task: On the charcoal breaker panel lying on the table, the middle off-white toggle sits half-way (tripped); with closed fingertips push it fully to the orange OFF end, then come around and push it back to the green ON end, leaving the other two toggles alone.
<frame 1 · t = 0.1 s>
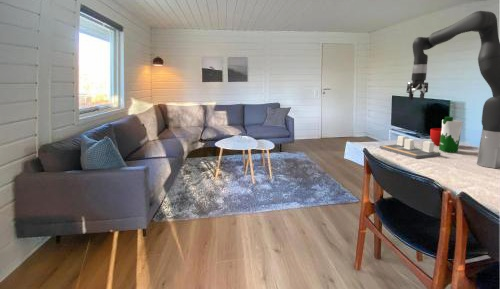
hand: (416, 100, 177), 29 cm above the table, tool pointing down, fingers open, 8 cm apart
breaker 2: (428, 146, 162), point 5 cm above the table, slide at 0.0 cm
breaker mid: (409, 144, 169), point 5 cm above the table, slide at 4.0 cm
panel: (408, 151, 170), on the table
ceramic cup: (443, 145, 186), on the table
breaker 1: (401, 140, 179), point 5 cm above the table, slide at 0.0 cm
milk carton: (448, 151, 171), on the table
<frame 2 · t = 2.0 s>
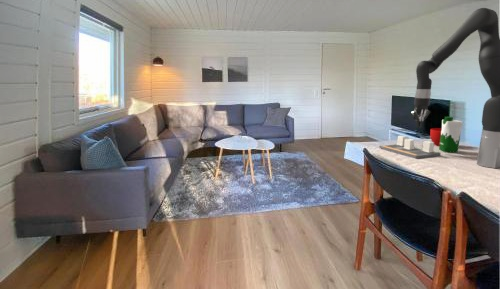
hand: (418, 127, 169), 14 cm above the table, tool pointing down, fingers closed
nothing on the table moved.
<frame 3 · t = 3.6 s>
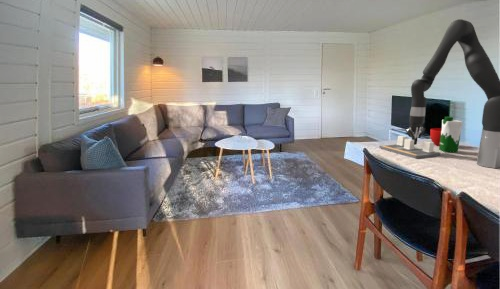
hand: (413, 144, 171), 4 cm above the table, tool pointing down, fingers closed
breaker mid: (409, 144, 169), point 5 cm above the table, slide at 4.1 cm, touching gripper
everything else where it was.
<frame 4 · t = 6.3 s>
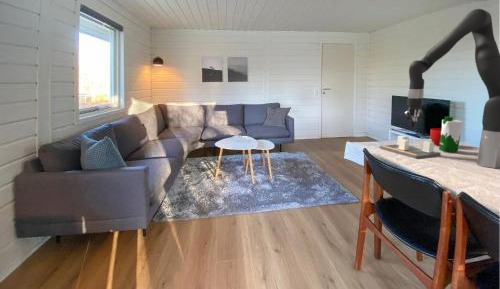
hand: (412, 127, 167), 14 cm above the table, tool pointing down, fingers closed
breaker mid: (403, 144, 168), point 5 cm above the table, slide at 8.0 cm
everything else where it was.
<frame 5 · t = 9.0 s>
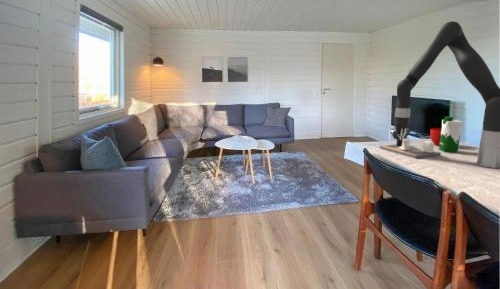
hand: (399, 146, 167), 4 cm above the table, tool pointing down, fingers closed
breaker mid: (404, 144, 168), point 5 cm above the table, slide at 7.6 cm, touching gripper
everything else where it was.
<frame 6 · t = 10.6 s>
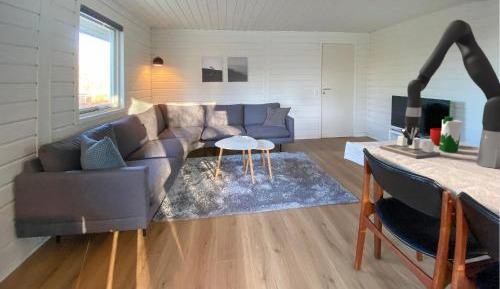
hand: (409, 145, 169), 4 cm above the table, tool pointing down, fingers closed
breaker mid: (414, 143, 170), point 5 cm above the table, slide at -0.1 cm, touching gripper
everything else where it was.
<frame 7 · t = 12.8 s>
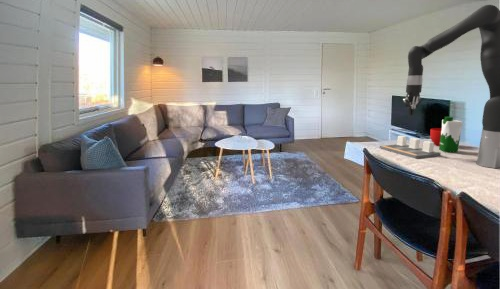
hand: (411, 115, 165), 21 cm above the table, tool pointing down, fingers closed
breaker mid: (414, 143, 170), point 5 cm above the table, slide at 0.0 cm
everything else where it was.
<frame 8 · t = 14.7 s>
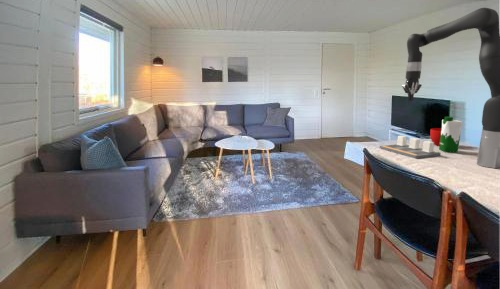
hand: (410, 100, 172), 29 cm above the table, tool pointing down, fingers closed
nothing on the table moved.
at the end: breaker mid slide at 0.0 cm; breaker 2 slide at 0.0 cm; breaker 1 slide at 0.0 cm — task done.
